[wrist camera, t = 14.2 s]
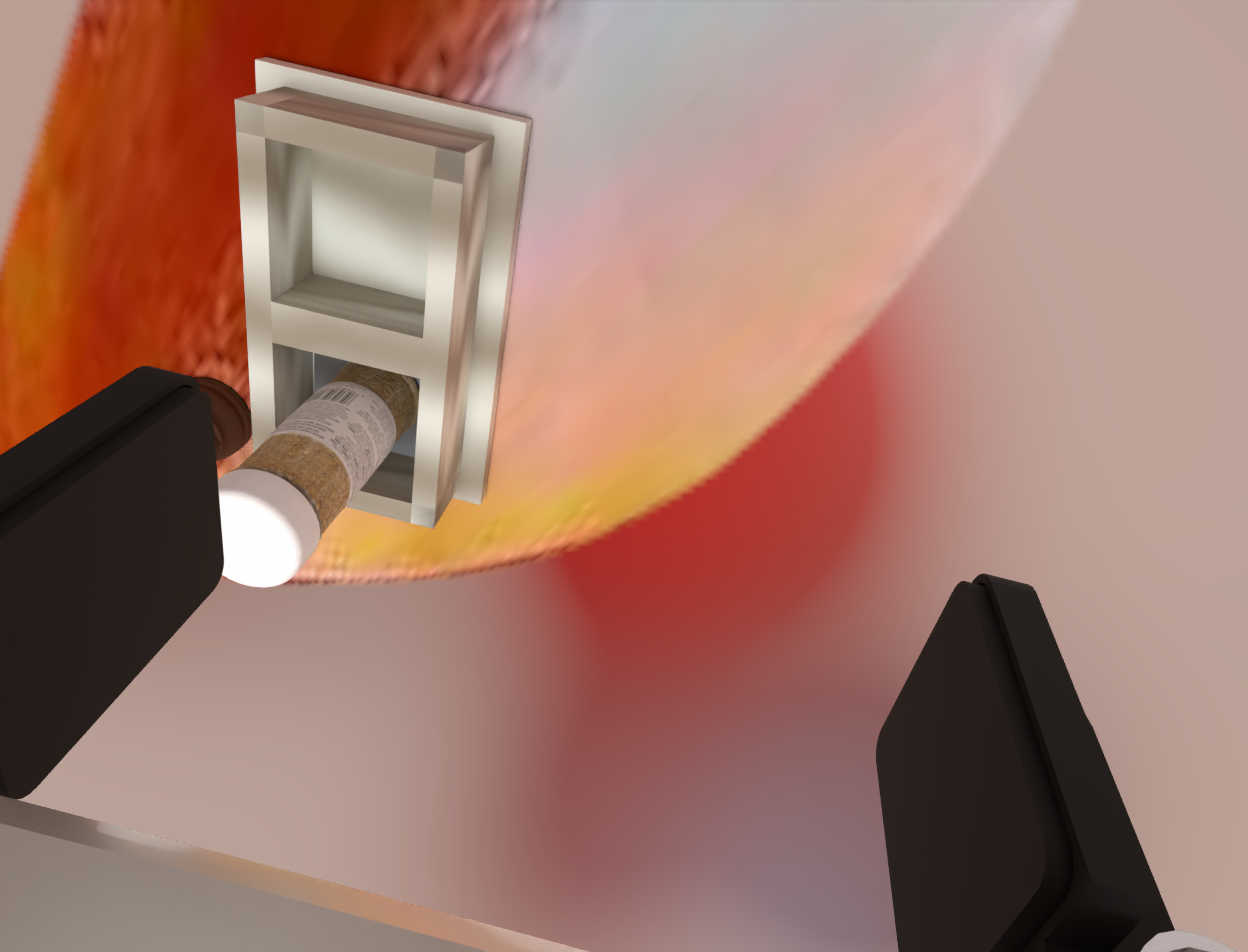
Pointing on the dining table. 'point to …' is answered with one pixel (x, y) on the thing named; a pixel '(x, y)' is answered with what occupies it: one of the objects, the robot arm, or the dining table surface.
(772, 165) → the dining table surface
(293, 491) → the sprinkles bottle
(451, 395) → the slot rack
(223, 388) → the chess piece
